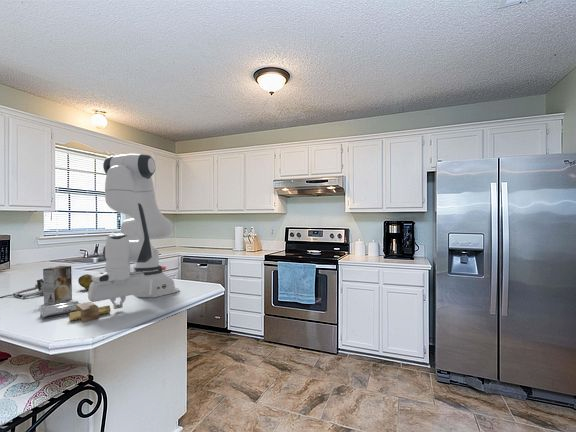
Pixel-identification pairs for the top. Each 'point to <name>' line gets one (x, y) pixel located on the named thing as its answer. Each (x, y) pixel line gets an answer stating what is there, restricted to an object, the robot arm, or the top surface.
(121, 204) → the robot arm
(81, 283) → the potato
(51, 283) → the coffee box
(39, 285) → the bike brake
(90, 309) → the slotted wooden block
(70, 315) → the axle
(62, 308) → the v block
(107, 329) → the top surface
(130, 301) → the top surface
